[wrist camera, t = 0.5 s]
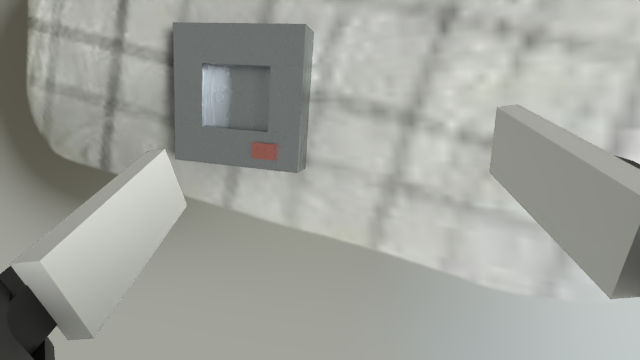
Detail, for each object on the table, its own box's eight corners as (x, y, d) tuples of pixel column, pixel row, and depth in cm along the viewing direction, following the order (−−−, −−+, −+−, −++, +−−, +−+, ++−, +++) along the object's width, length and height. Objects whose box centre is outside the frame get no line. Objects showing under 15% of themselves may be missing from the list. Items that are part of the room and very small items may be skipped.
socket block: (190, 30, 36) (168, 20, 33) (313, 32, 33) (303, 22, 30) (191, 156, 39) (171, 159, 36) (305, 168, 36) (295, 173, 33)
